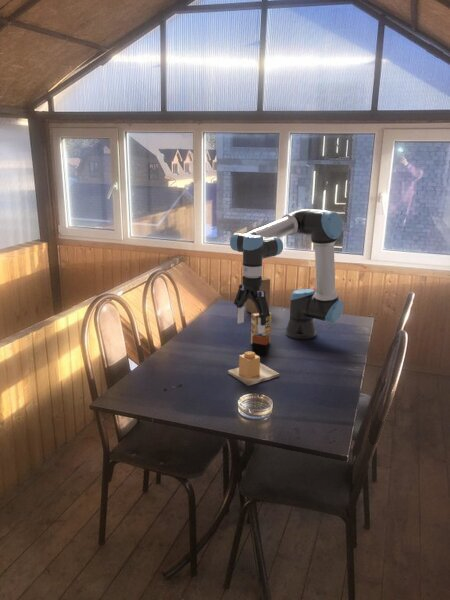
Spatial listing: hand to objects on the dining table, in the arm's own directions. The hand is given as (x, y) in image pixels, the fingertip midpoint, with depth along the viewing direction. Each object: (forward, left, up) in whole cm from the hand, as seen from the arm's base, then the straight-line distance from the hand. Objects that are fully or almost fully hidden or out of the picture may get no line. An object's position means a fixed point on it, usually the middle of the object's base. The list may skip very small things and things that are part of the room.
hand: (250, 327), depth 197 cm
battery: (-19, -17, -22) cm, 34 cm away
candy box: (-27, -27, -22) cm, 44 cm away
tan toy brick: (0, 0, -20) cm, 20 cm away
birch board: (-3, -1, -22) cm, 22 cm away
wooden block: (-56, -67, -22) cm, 90 cm away
